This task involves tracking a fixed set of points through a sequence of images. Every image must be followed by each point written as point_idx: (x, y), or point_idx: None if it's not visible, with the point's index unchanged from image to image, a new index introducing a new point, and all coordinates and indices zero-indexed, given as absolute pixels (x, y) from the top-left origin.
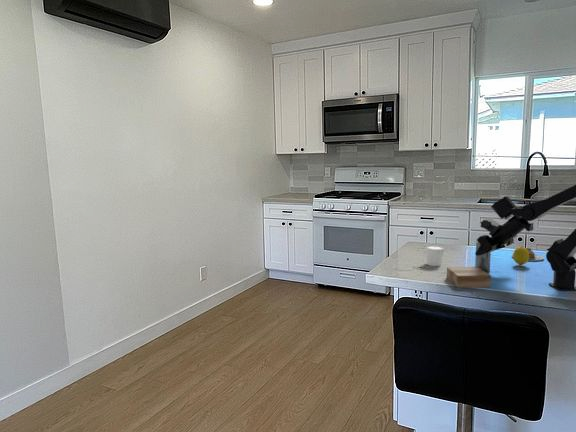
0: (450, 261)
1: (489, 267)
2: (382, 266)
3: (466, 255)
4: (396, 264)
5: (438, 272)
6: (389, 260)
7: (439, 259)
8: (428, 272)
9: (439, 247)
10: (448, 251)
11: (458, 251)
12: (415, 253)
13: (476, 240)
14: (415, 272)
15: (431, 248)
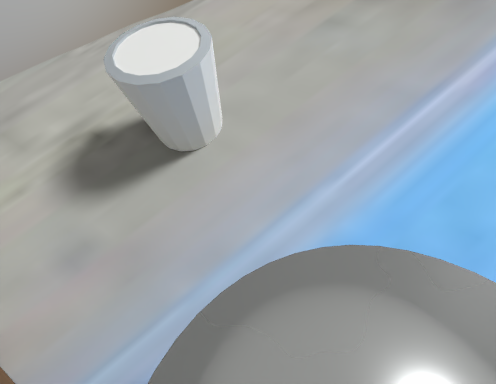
0: (295, 123)
1: None
2: (20, 77)
3: (461, 81)
4: (76, 77)
5: (66, 233)
6: (111, 38)
7: (169, 130)
8: (36, 209)
9: (191, 48)
10: (419, 19)
11: (468, 29)
12: (267, 7)
13: (187, 341)
14: (3, 181)
15: (129, 50)
